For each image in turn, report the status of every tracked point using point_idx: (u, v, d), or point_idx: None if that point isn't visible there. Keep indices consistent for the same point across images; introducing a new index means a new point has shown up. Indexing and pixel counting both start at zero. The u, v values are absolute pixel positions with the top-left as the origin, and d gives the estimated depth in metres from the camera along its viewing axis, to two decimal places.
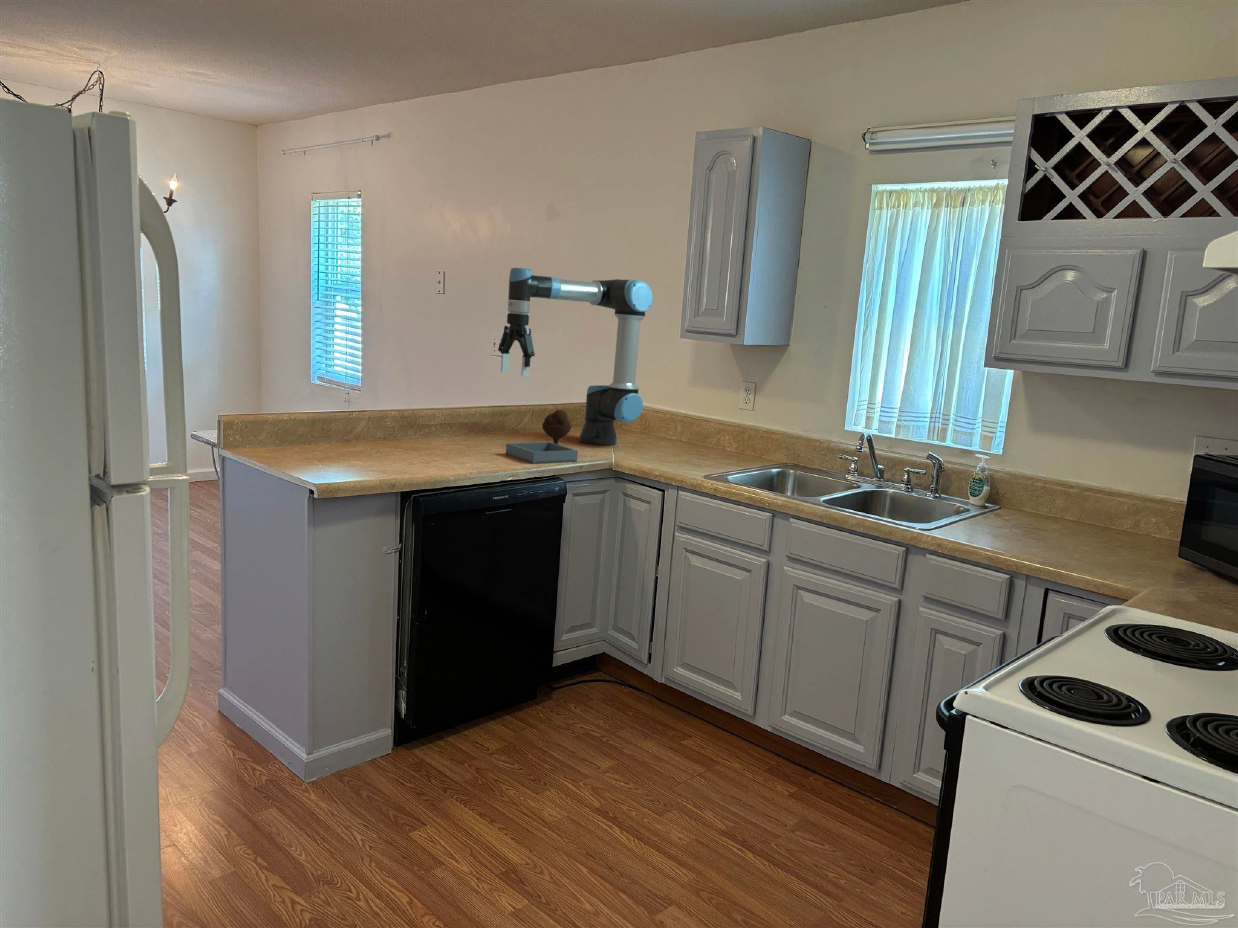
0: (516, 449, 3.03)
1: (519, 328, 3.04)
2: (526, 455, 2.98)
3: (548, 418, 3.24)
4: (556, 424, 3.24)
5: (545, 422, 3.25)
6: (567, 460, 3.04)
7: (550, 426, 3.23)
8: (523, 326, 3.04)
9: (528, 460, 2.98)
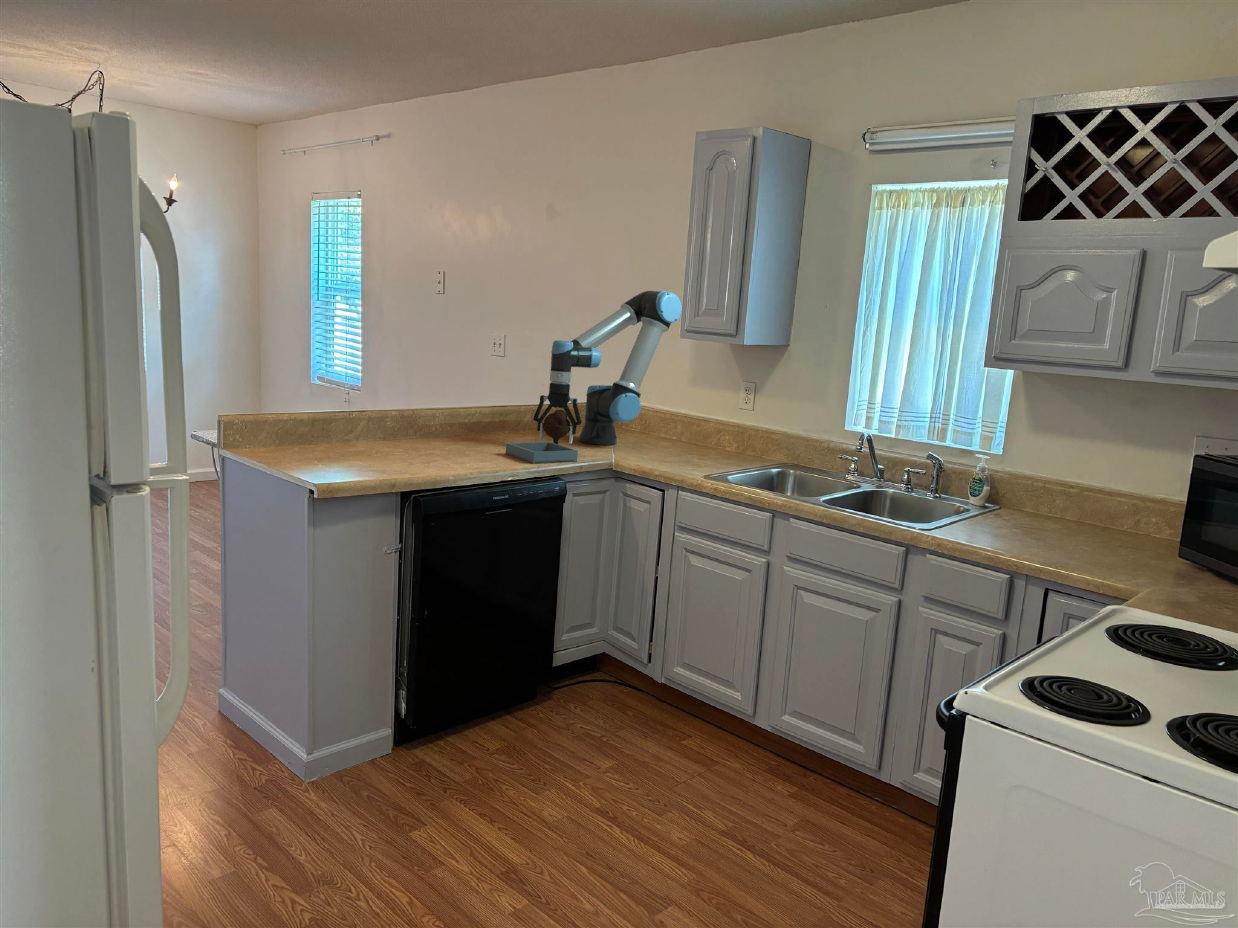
0: (516, 449, 3.03)
1: (566, 397, 3.24)
2: (526, 455, 2.98)
3: (548, 418, 3.24)
4: (556, 424, 3.24)
5: (545, 422, 3.25)
6: (567, 460, 3.04)
7: (550, 426, 3.23)
8: None
9: (528, 460, 2.98)
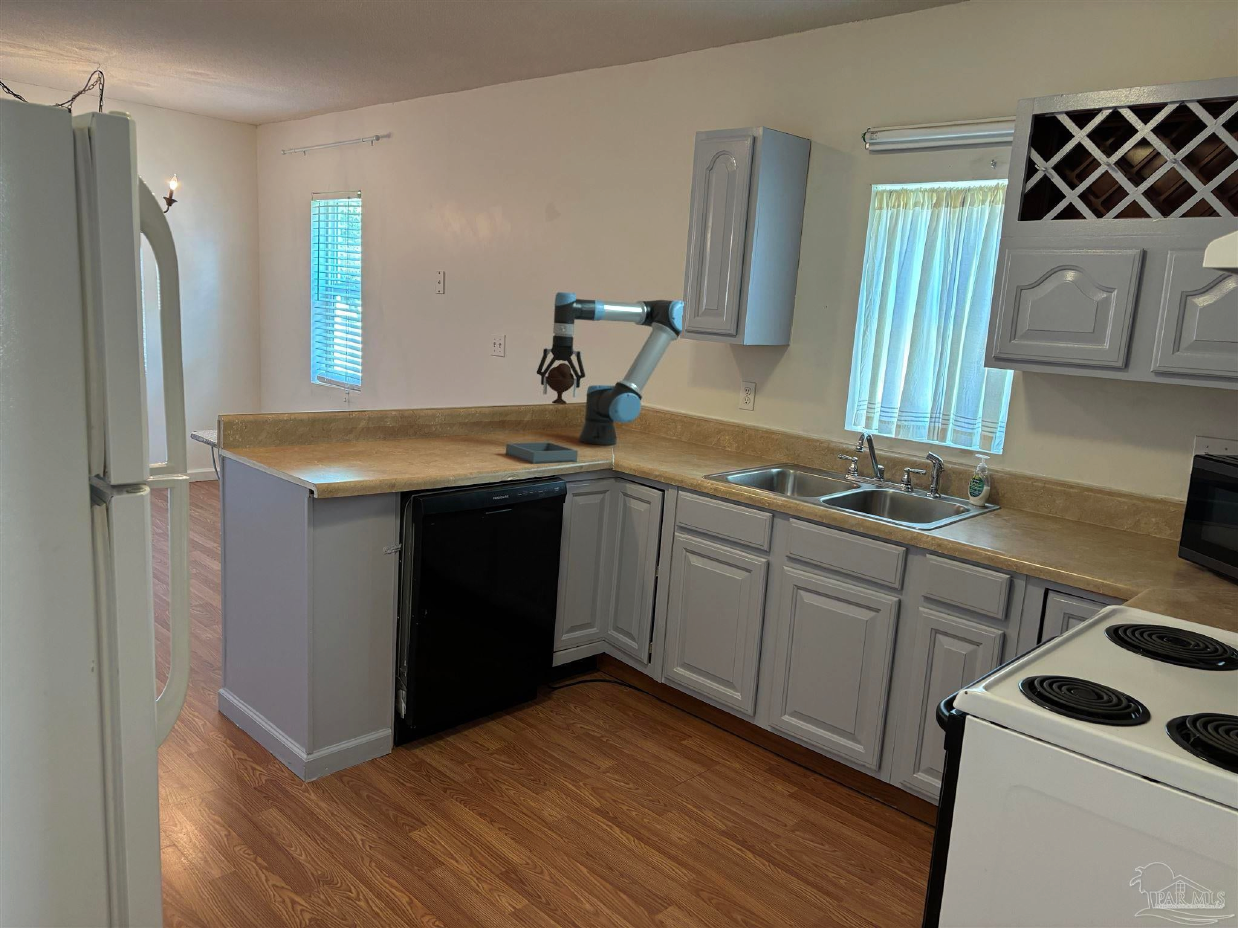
0: (516, 449, 3.03)
1: (570, 350, 3.21)
2: (526, 455, 2.98)
3: (551, 371, 3.21)
4: (560, 377, 3.21)
5: (548, 375, 3.22)
6: (567, 460, 3.04)
7: (554, 379, 3.20)
8: None
9: (528, 460, 2.98)
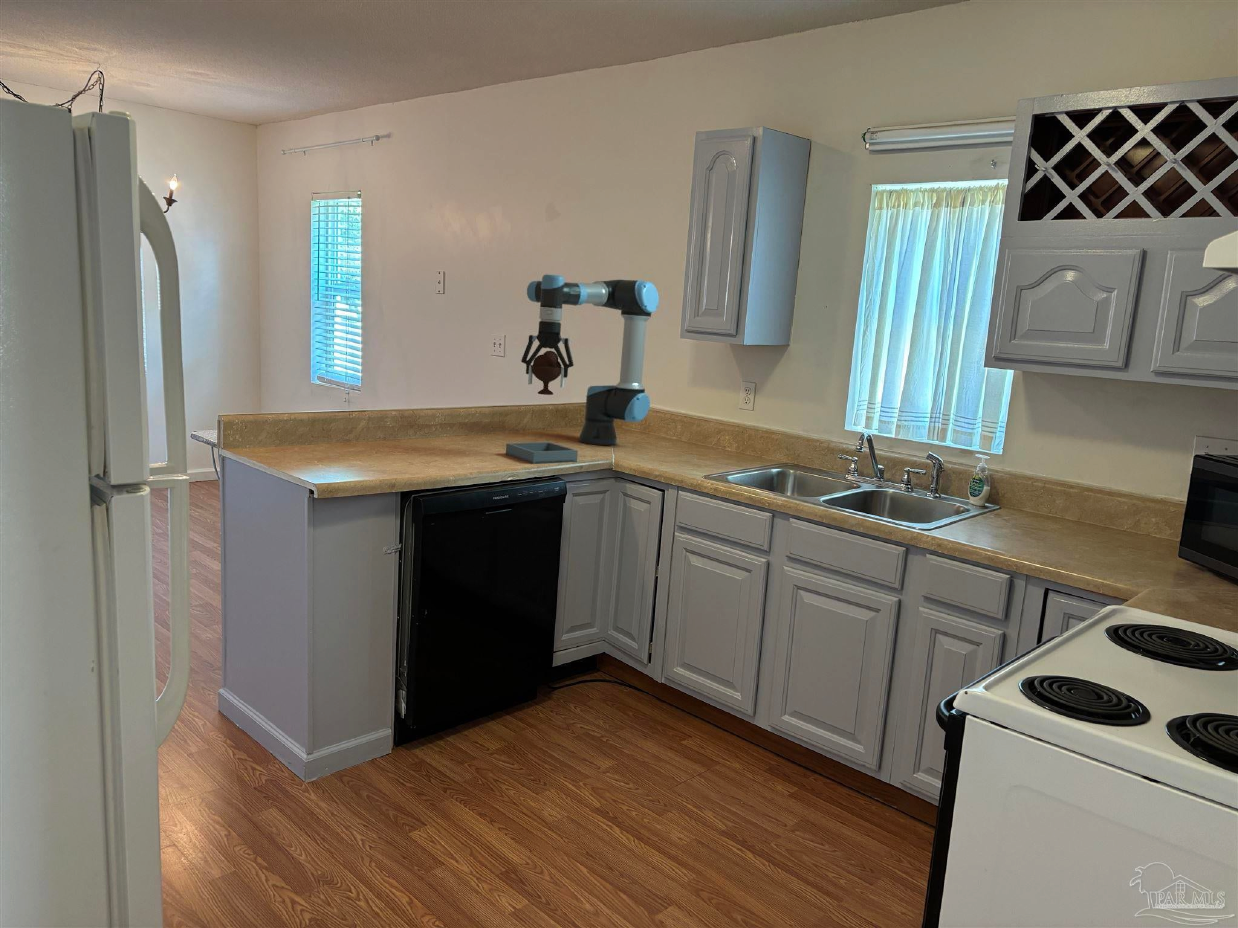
0: (516, 449, 3.03)
1: (557, 336, 2.99)
2: (526, 455, 2.98)
3: (537, 359, 2.99)
4: (546, 366, 2.99)
5: (534, 364, 3.00)
6: (567, 460, 3.04)
7: (539, 368, 2.98)
8: (560, 335, 3.00)
9: (528, 460, 2.98)
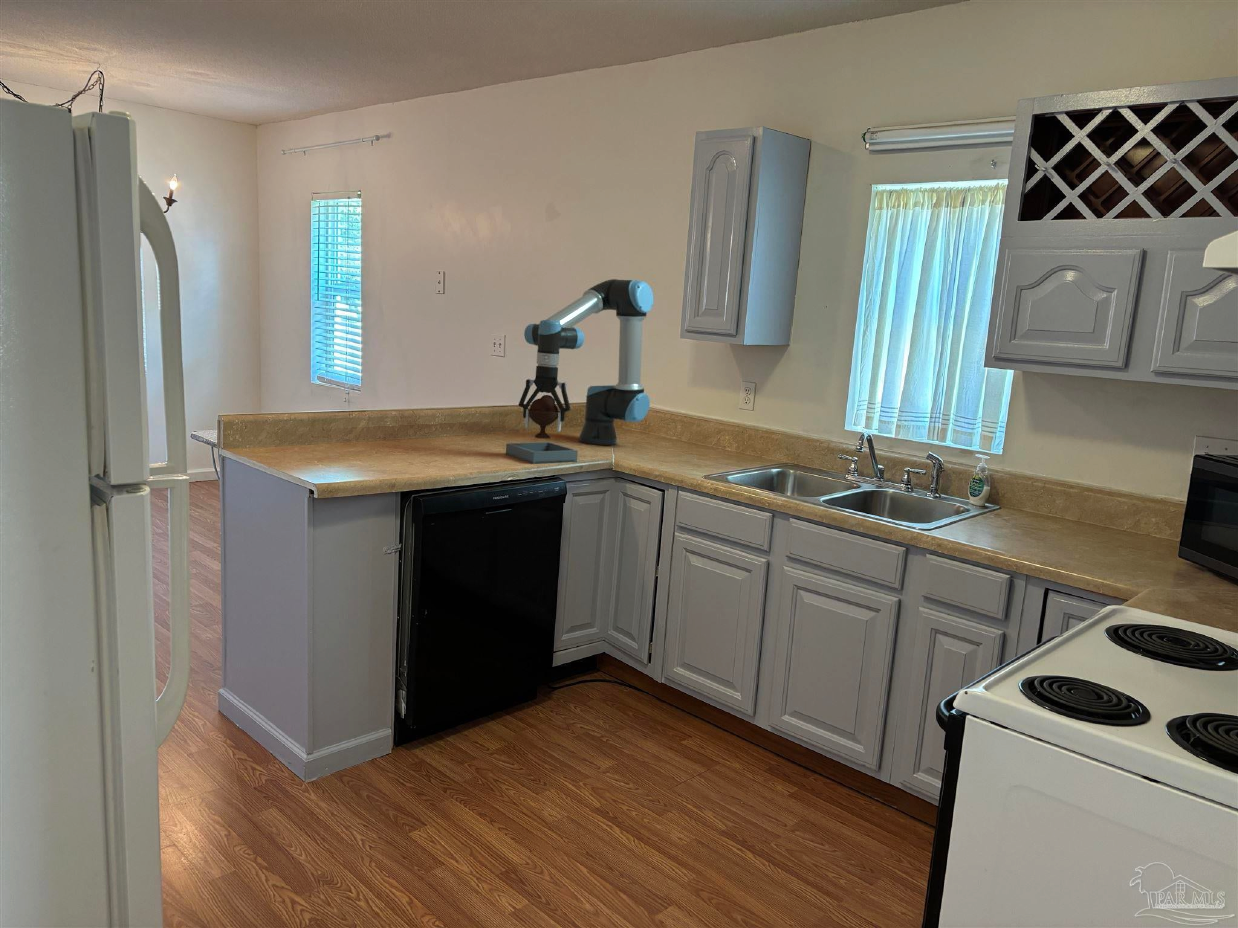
0: (516, 449, 3.03)
1: (554, 381, 3.02)
2: (526, 455, 2.98)
3: (534, 404, 3.02)
4: (543, 410, 3.01)
5: (531, 408, 3.03)
6: (567, 460, 3.04)
7: (536, 412, 3.00)
8: None
9: (528, 460, 2.98)
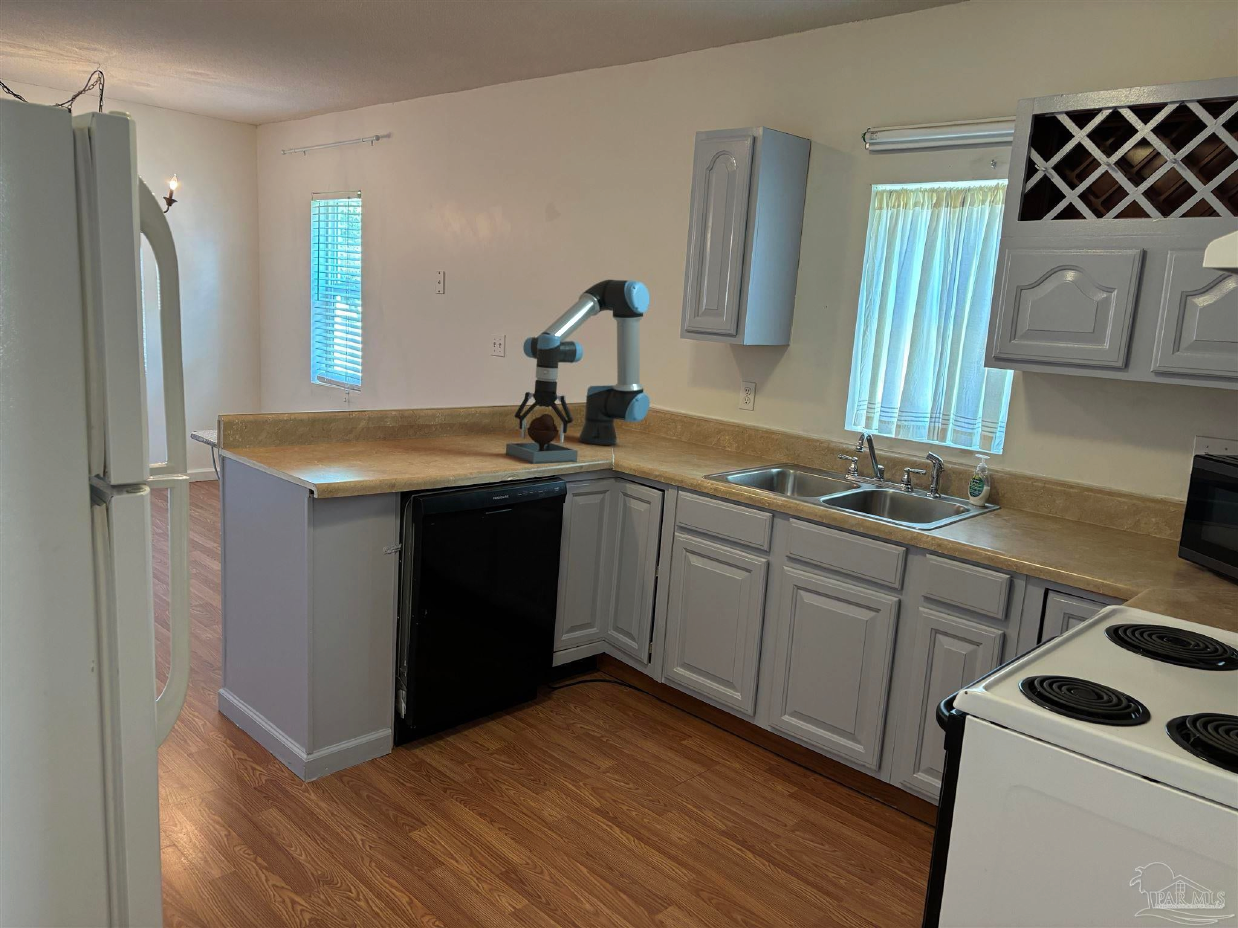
0: (516, 449, 3.03)
1: (553, 395, 3.03)
2: (526, 455, 2.98)
3: (533, 422, 3.03)
4: (542, 429, 3.02)
5: (530, 427, 3.03)
6: (567, 460, 3.04)
7: (535, 431, 3.01)
8: None
9: (528, 460, 2.98)
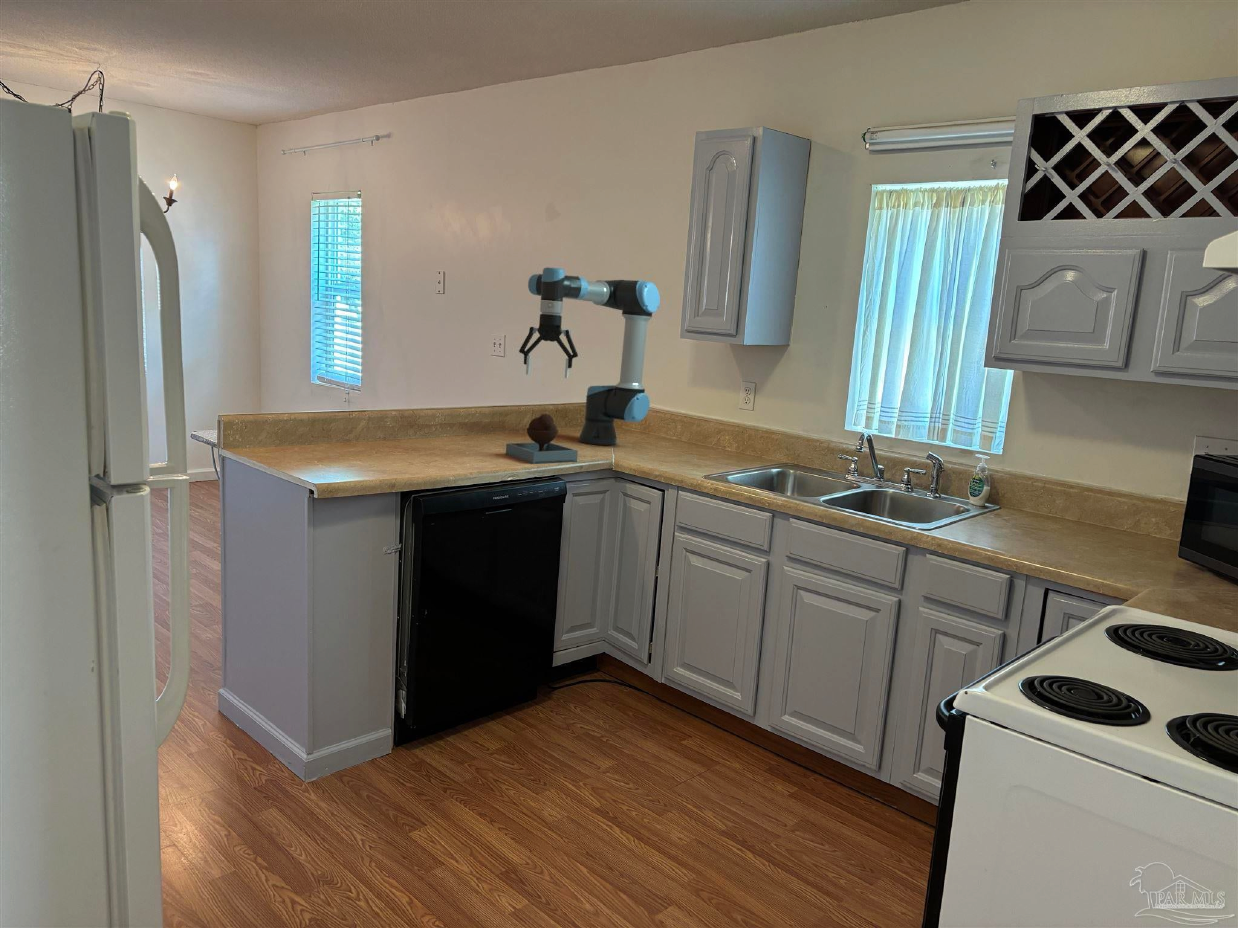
0: (516, 449, 3.03)
1: (558, 329, 3.00)
2: (526, 455, 2.98)
3: (533, 423, 3.02)
4: (542, 429, 3.02)
5: (530, 427, 3.03)
6: (567, 460, 3.04)
7: (535, 431, 3.01)
8: (560, 327, 3.01)
9: (528, 460, 2.98)
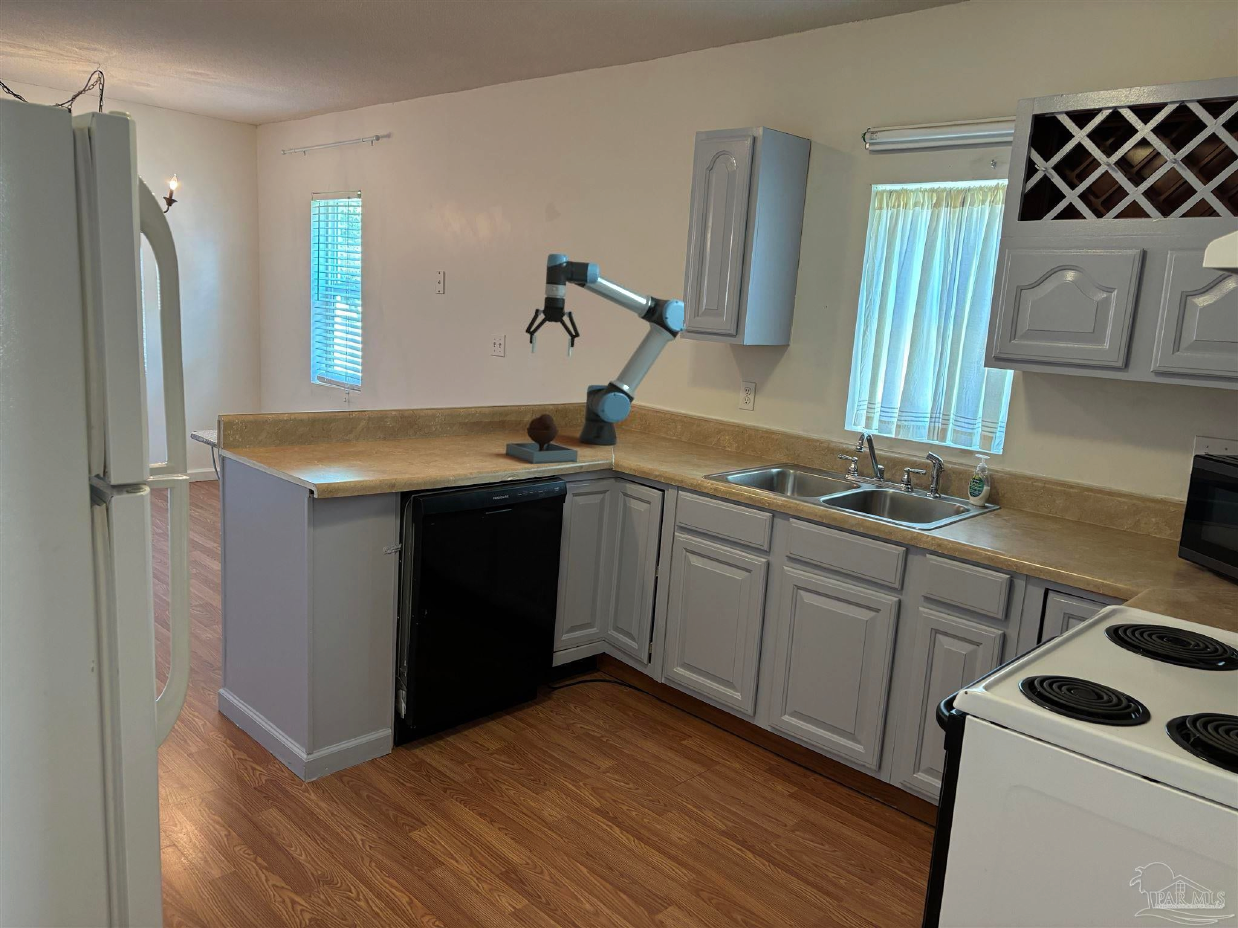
0: (516, 449, 3.03)
1: (561, 311, 3.24)
2: (526, 455, 2.98)
3: (533, 423, 3.03)
4: (542, 429, 3.02)
5: (530, 427, 3.03)
6: (567, 460, 3.04)
7: (535, 431, 3.01)
8: None
9: (528, 460, 2.98)
